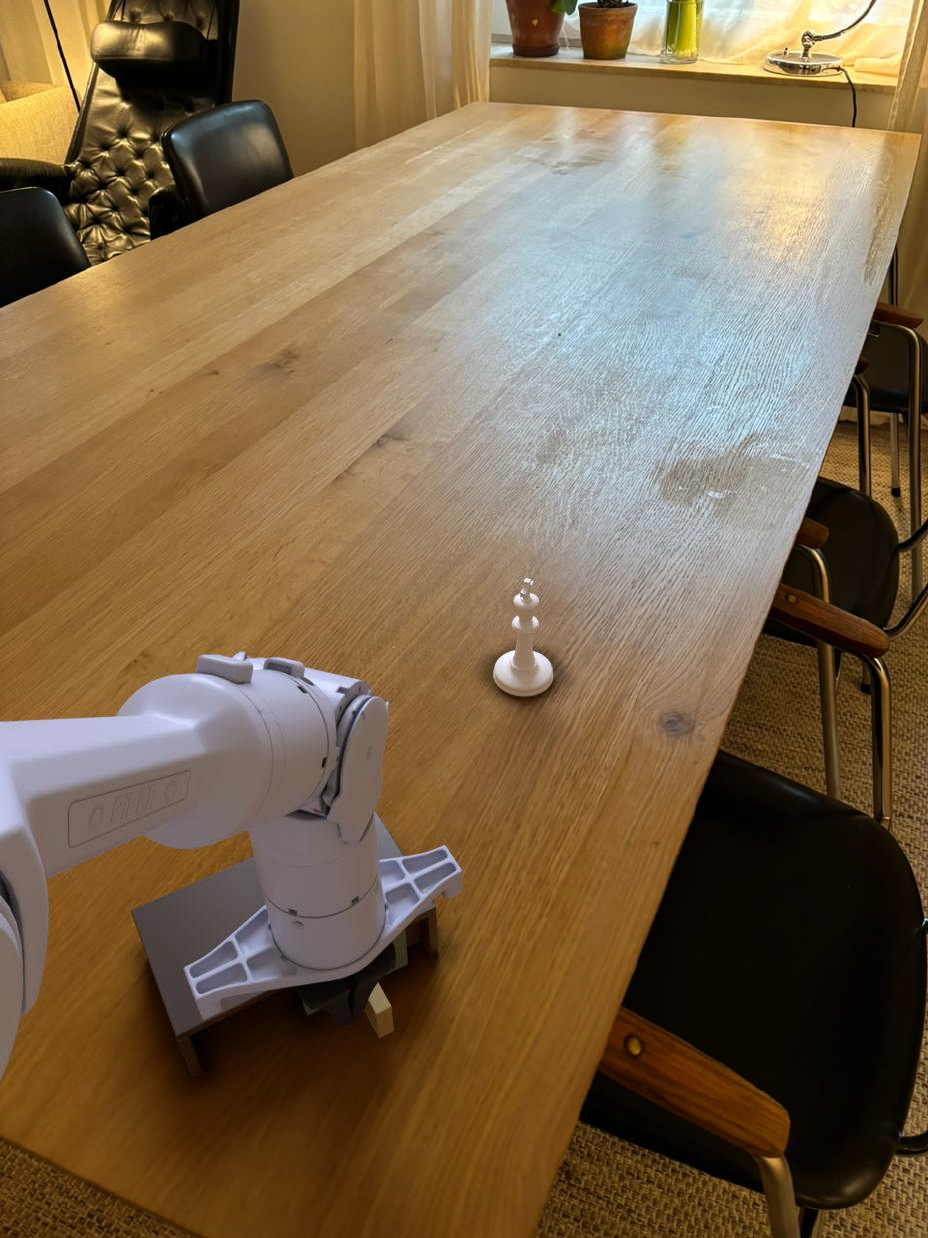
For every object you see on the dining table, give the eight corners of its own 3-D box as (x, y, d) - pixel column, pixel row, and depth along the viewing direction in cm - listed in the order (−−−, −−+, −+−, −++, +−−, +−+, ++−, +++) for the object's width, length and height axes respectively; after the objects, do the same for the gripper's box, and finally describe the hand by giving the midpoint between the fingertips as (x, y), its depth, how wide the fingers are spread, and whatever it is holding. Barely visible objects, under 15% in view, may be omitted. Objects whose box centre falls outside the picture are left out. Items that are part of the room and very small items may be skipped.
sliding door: (334, 1074, 57) (327, 1041, 54) (303, 1008, 60) (295, 973, 57) (439, 1017, 59) (437, 983, 57) (404, 956, 62) (400, 921, 60)
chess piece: (561, 665, 82) (569, 570, 76) (540, 704, 79) (545, 608, 72) (507, 648, 84) (509, 554, 77) (483, 686, 81) (484, 590, 74)
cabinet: (193, 1079, 57) (175, 1037, 53) (148, 955, 63) (130, 910, 59) (438, 952, 63) (436, 907, 59) (376, 849, 69) (371, 803, 65)
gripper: (415, 753, 53) (424, 899, 61) (145, 868, 47) (197, 1010, 56) (483, 848, 48) (482, 992, 57) (191, 988, 43) (240, 1123, 51)
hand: (344, 1008), depth 56 cm, fingers closed
